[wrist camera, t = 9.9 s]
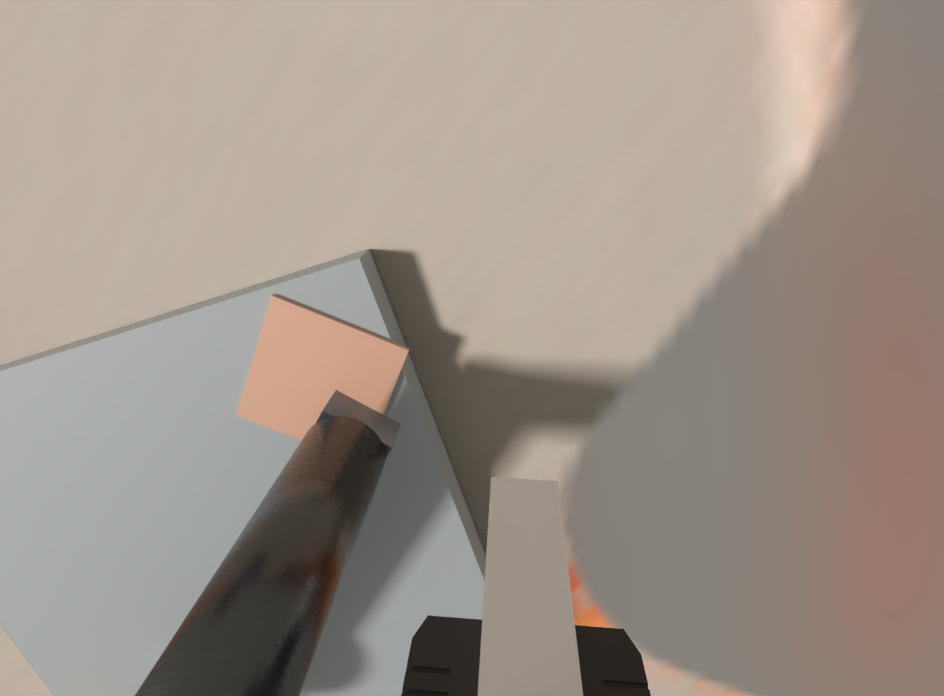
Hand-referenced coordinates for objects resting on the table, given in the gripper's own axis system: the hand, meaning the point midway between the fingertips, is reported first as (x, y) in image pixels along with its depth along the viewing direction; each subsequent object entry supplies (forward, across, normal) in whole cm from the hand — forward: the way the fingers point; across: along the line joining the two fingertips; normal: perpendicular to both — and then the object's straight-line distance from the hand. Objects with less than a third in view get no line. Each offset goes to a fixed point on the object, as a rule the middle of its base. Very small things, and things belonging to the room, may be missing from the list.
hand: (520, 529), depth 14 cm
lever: (+7, -10, -10) cm, 16 cm away
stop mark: (+8, -7, 0) cm, 11 cm away
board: (+9, -12, -11) cm, 18 cm away
